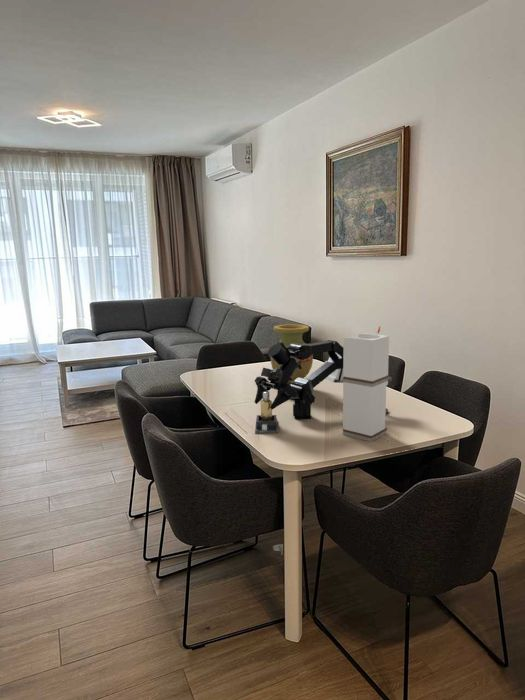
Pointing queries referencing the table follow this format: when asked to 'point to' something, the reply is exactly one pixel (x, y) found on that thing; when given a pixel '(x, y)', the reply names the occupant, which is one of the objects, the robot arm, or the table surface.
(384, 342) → the white banded pillar
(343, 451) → the table surface
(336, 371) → the hinge
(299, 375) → the vase
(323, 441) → the table surface
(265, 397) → the gold perfume bottle
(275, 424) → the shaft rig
